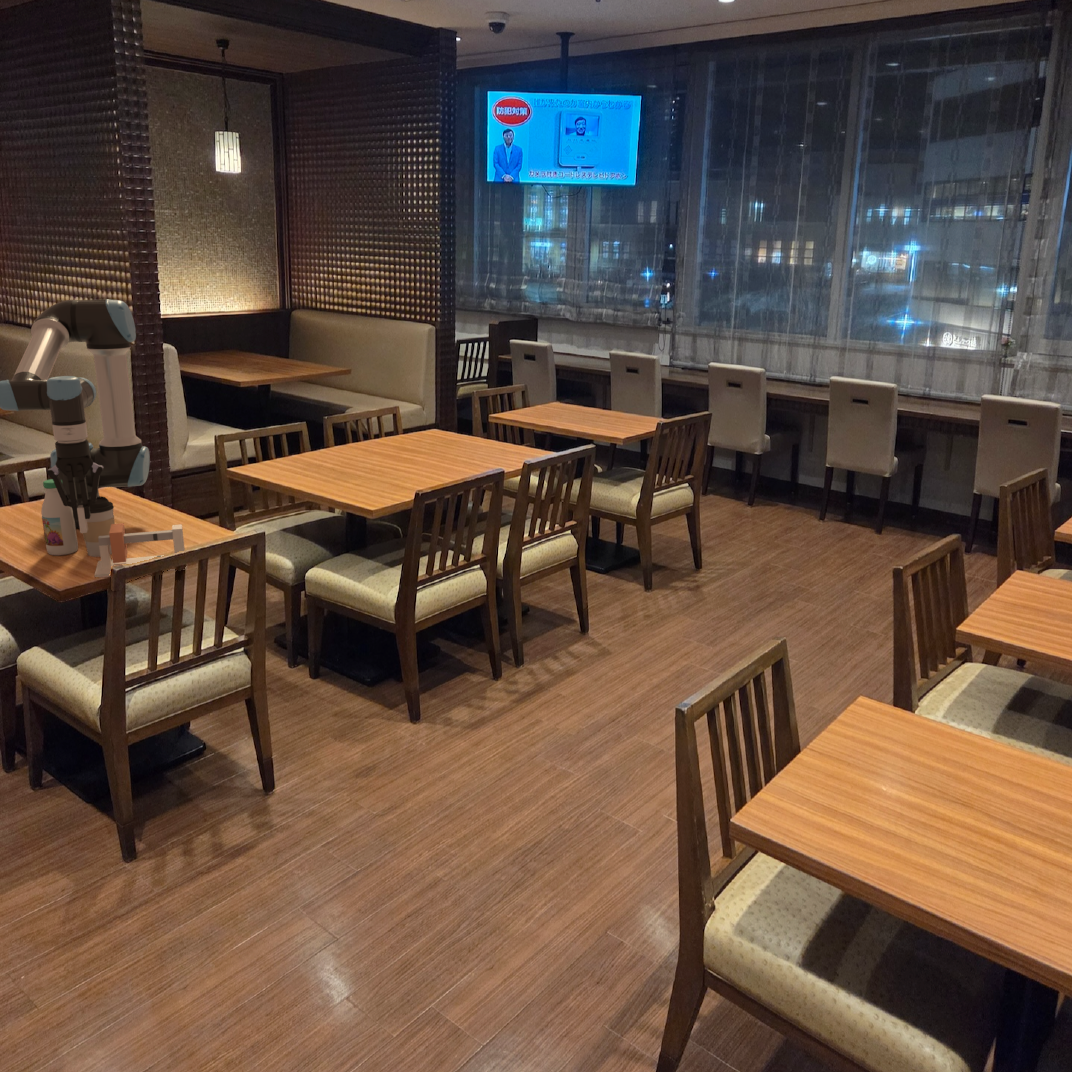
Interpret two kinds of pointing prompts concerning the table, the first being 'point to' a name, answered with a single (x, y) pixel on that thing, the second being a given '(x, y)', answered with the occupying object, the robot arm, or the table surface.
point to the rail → (108, 562)
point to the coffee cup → (98, 524)
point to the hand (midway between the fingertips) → (84, 531)
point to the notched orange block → (118, 543)
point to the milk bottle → (57, 522)
